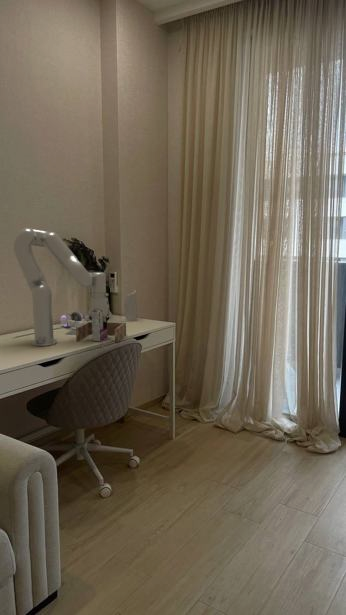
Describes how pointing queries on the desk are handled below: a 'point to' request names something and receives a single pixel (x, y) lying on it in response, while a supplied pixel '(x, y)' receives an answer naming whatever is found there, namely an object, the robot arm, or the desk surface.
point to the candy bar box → (98, 326)
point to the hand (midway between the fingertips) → (99, 328)
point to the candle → (130, 307)
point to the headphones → (74, 319)
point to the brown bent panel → (112, 329)
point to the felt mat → (72, 332)
